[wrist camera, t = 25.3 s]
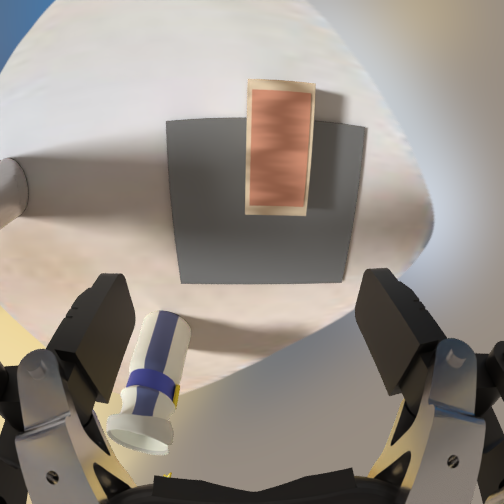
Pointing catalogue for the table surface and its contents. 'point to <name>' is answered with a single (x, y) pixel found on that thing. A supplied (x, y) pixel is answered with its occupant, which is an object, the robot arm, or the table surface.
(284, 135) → the tan two-tone tall block
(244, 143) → the rubber mat
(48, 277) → the table surface
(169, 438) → the water bottle
